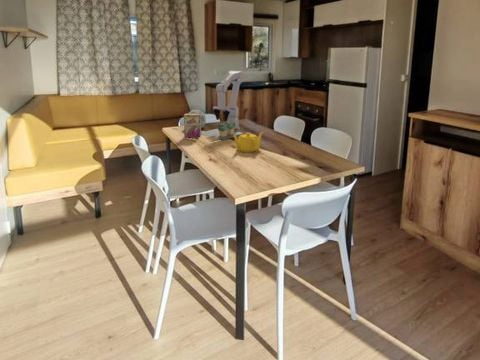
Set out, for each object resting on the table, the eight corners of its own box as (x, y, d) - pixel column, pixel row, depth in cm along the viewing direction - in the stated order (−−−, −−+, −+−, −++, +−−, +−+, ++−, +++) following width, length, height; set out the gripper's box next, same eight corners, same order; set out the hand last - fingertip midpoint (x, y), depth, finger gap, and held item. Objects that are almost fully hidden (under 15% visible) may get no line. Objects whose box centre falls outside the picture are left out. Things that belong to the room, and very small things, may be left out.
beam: (230, 127, 282) (230, 121, 281) (235, 128, 280) (235, 122, 279) (218, 130, 272) (218, 124, 271) (222, 131, 270) (222, 125, 268)
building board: (216, 129, 298) (216, 123, 297) (243, 134, 283) (243, 127, 282) (194, 135, 280) (194, 128, 279) (222, 140, 265) (222, 133, 264)
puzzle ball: (187, 131, 292) (186, 111, 287) (185, 127, 306) (184, 108, 301) (207, 130, 295) (206, 111, 290) (204, 126, 309) (204, 107, 304)
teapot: (239, 155, 229) (239, 137, 226) (227, 149, 242) (227, 132, 239) (270, 151, 239) (271, 133, 235) (258, 145, 252) (258, 129, 248)
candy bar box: (184, 138, 272) (183, 114, 266) (186, 136, 276) (184, 113, 271) (200, 138, 271) (199, 114, 265) (201, 136, 275) (200, 113, 270)
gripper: (210, 101, 279) (210, 119, 283) (225, 102, 270) (225, 122, 275) (216, 100, 284) (217, 118, 289) (232, 101, 276) (232, 120, 280)
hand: (221, 120), depth 282 cm, fingers open, 7 cm apart
